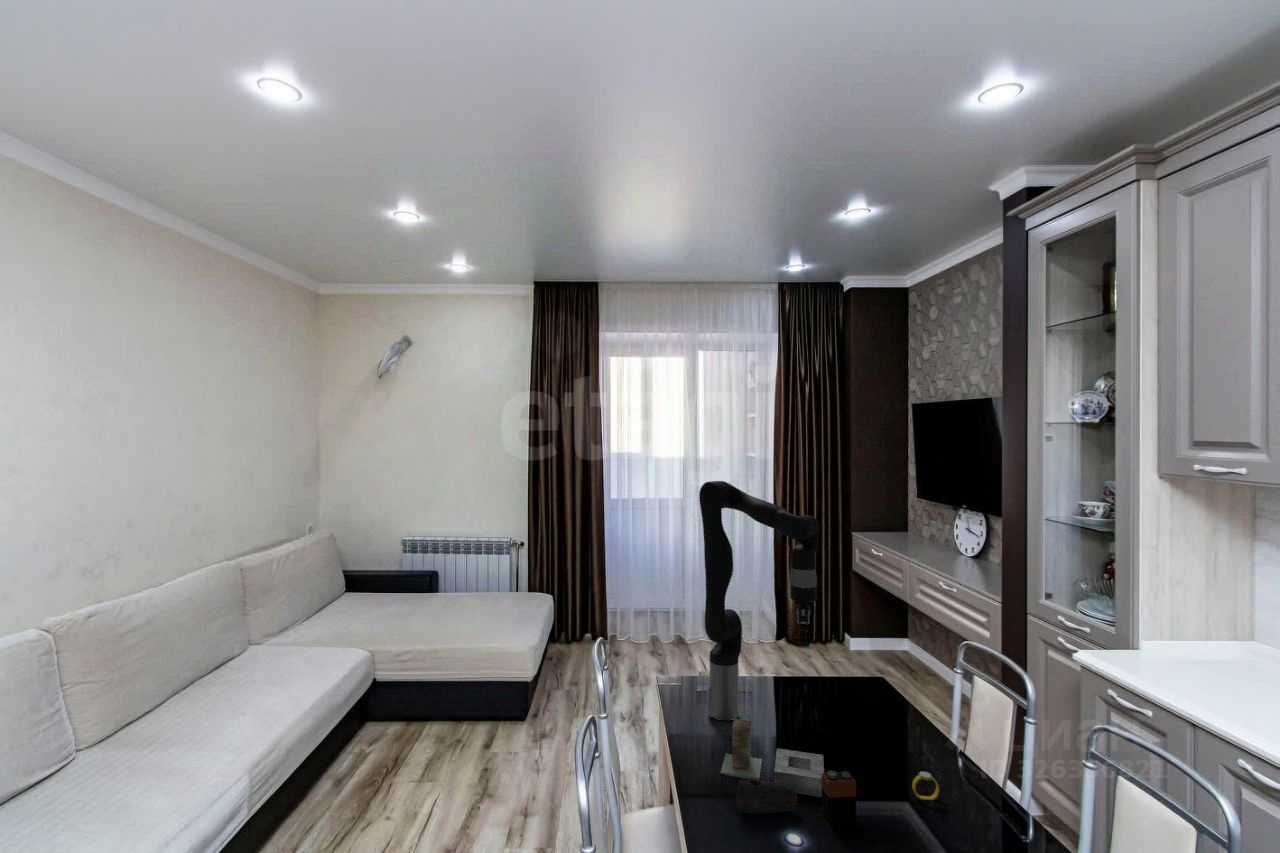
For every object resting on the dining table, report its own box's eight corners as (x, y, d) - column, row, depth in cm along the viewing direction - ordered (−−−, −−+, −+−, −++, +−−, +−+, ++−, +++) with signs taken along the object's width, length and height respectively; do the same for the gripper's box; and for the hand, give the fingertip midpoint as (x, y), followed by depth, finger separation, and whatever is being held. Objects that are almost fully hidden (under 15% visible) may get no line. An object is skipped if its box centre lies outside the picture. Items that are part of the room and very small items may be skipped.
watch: (916, 802, 143) (913, 777, 143) (911, 795, 145) (909, 771, 146) (941, 802, 142) (939, 777, 142) (937, 795, 145) (934, 771, 145)
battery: (821, 811, 138) (820, 768, 139) (848, 810, 139) (848, 767, 139) (828, 823, 134) (828, 778, 134) (857, 821, 134) (856, 777, 135)
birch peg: (732, 768, 156) (732, 726, 156) (734, 759, 160) (734, 718, 160) (749, 771, 154) (749, 728, 155) (751, 762, 159) (751, 721, 159)
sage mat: (720, 774, 154) (720, 772, 154) (725, 755, 163) (725, 753, 163) (759, 780, 151) (759, 778, 151) (762, 761, 161) (762, 758, 161)
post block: (774, 789, 147) (774, 771, 147) (776, 765, 158) (776, 748, 159) (824, 797, 144) (824, 779, 144) (823, 772, 155) (823, 754, 155)
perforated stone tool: (794, 805, 141) (794, 775, 141) (801, 819, 135) (800, 788, 136) (732, 805, 140) (732, 775, 141) (736, 818, 135) (736, 787, 136)
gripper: (790, 577, 180) (791, 631, 179) (789, 588, 166) (789, 645, 166) (816, 579, 178) (816, 633, 177) (817, 589, 164) (817, 648, 163)
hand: (803, 639), depth 171 cm, fingers open, 8 cm apart
